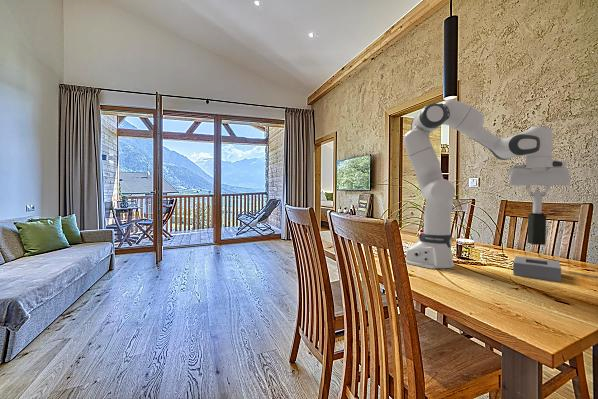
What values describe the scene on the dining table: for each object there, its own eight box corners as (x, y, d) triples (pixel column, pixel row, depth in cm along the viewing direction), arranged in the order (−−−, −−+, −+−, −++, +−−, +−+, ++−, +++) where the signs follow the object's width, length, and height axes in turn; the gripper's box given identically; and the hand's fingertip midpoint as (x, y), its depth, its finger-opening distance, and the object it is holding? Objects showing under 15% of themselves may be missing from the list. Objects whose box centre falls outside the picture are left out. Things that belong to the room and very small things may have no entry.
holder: (513, 274, 113) (513, 262, 113) (515, 267, 124) (515, 256, 124) (560, 282, 104) (561, 268, 104) (558, 273, 115) (559, 261, 115)
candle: (539, 242, 127) (540, 186, 126) (546, 245, 122) (548, 186, 121) (526, 242, 128) (527, 186, 126) (533, 244, 123) (535, 186, 121)
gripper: (508, 165, 128) (507, 195, 128) (571, 162, 114) (570, 196, 115) (509, 165, 132) (508, 195, 133) (570, 163, 119) (568, 196, 120)
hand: (537, 196), depth 124 cm, fingers closed on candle, 3 cm apart
